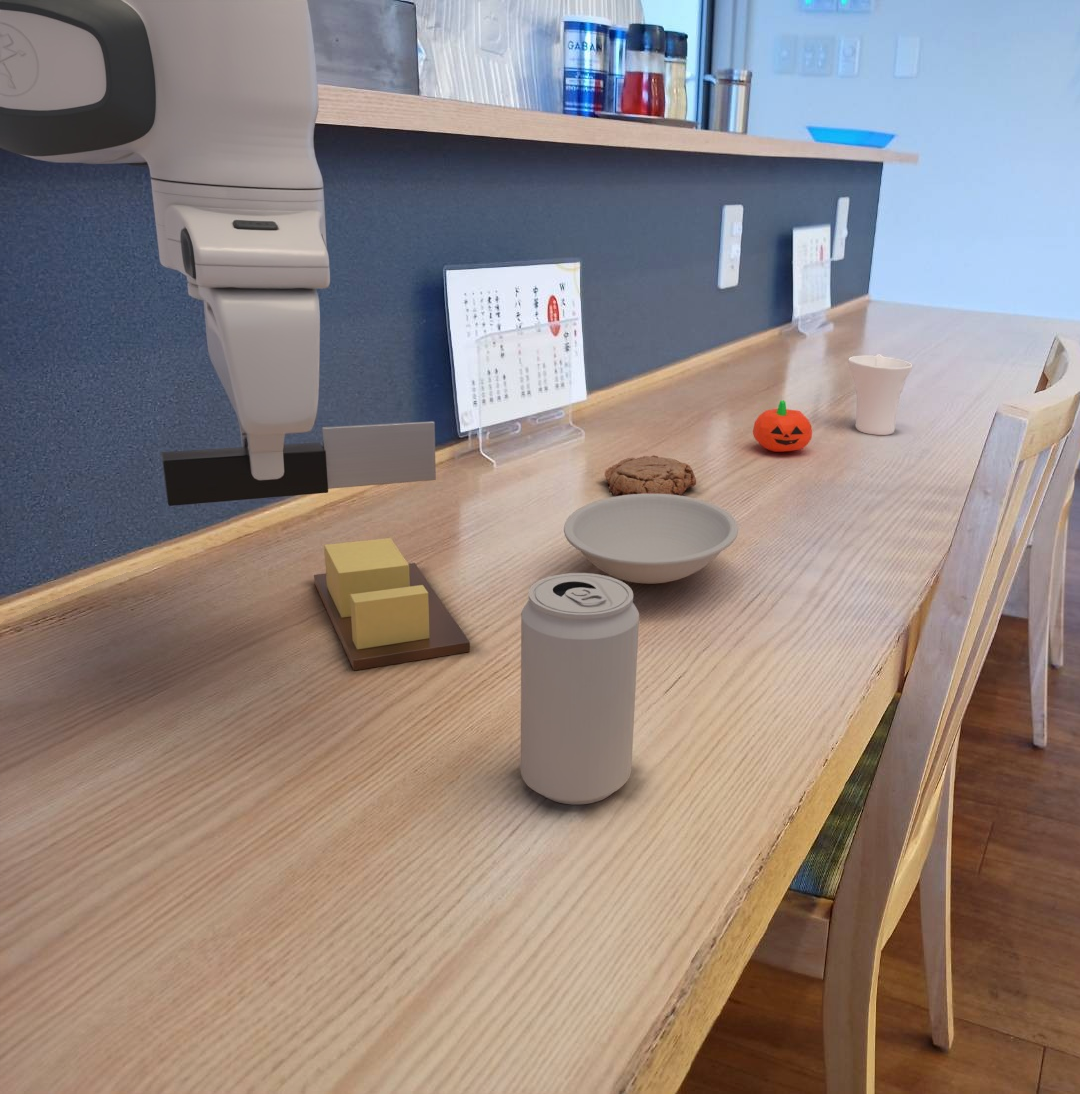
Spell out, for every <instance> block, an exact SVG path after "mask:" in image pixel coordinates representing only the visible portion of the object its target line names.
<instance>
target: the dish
mask: <svg viewBox="0 0 1080 1094" xmlns="http://www.w3.org/2000/svg"><path fill="white" fill-rule="evenodd" d="M563 533H564V537H565V539H566V541H567V542H568V543H569V544H570V545H571V546H572V547H573V548H575V549H577V551H580V553H581V554H582V555H583V556H584V557H585V558H586V560H588V561H589V562H590V563H591V564H592V565H593V566H595V567H596V568H597V569H599V570H600V571H602V572H604V573H605V574H607V575H608V576H610V577H612V578H615V579H618V580H620V581H625V582H629V583H635V584H645V585H646V584H649V585H650V584H664V583H665V584H666V583H670V582H674V581H679V580H682V579H684V578H686V577H689V576H691V575H694V574H696V573H697V572H699V571H700V570H702V569H703V568H705V567H706V566H708V565H709V564H710V563H711V562H712V561H713V560H714V559H715V558H716V557H717V556H719V554H720V553H722V552H723V551H725V549H727V548H729V547H730V546H731V545H732V544H733V543H734V542H735V541H736V538H737V537H738V534H739V525H738V521H737V520H736V518H735V516H733V515H732V514H731V513H730V512H729V511H727V510H726V509H724V508H723V507H721V506H719V505H717V504H715V503H712V502H709V501H706V500H703V499H700V498H696V497H690V496H686V495H671V494H631V495H622V496H611V497H607V498H603V499H599V500H595V501H592V502H590V503H587V504H586V505H583V506H581V507H580V508H578V509H576V510H575V511H573V512H572V513H571V514H570V515H569V516H568V517H567V518H566V520H565V522H564V525H563Z"/></svg>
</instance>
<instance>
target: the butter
mask: <svg viewBox="0 0 1080 1094" xmlns="http://www.w3.org/2000/svg"><path fill="white" fill-rule="evenodd" d="M323 548H324V562H325V573H326V579H327V588H328V590H329V592H330V595H331V597H332V599H333V601H334V603H335V605H336V607H337V609H338V611H339V613H340V615H341V617H342V618H344V617H351V605H350V594H357V593H365V592H373V591H380V590H388V589H395V588H403V587H410V581H409V564H410V563H408V561H407V560H406V559H405V557H404V555H403V554H402V553H401V551H400V550H399V548H398V546H397V545H396V544H395V542H394V541H393V539H392V538H391V537H386V538H378V539H377V538H376V539H368V540H359V541H358V540H357V541H350V542H349V541H347V542H339V543H329V544H324V545H323Z"/></svg>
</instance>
